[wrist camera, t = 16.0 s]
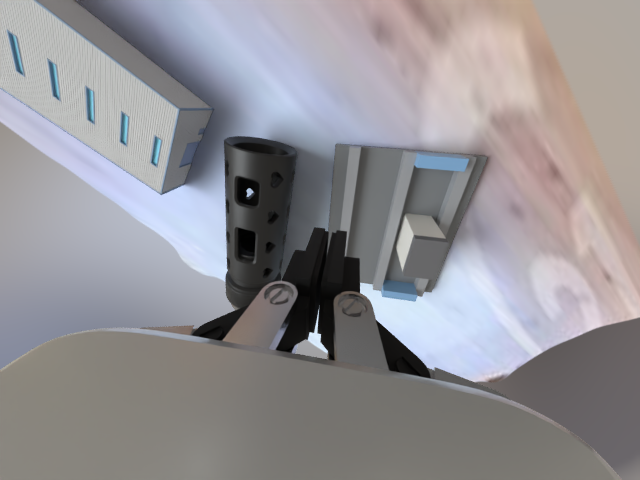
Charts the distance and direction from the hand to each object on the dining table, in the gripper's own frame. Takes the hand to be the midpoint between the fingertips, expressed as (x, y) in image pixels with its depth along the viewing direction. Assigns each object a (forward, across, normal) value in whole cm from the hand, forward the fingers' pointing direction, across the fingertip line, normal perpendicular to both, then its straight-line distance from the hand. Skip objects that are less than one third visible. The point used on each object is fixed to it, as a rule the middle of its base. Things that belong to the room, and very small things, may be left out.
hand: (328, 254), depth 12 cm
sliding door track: (+25, -8, +10) cm, 28 cm away
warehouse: (+26, +36, -8) cm, 45 cm away
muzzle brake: (+26, +13, +12) cm, 31 cm away
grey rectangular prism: (+24, -12, +10) cm, 29 cm away
